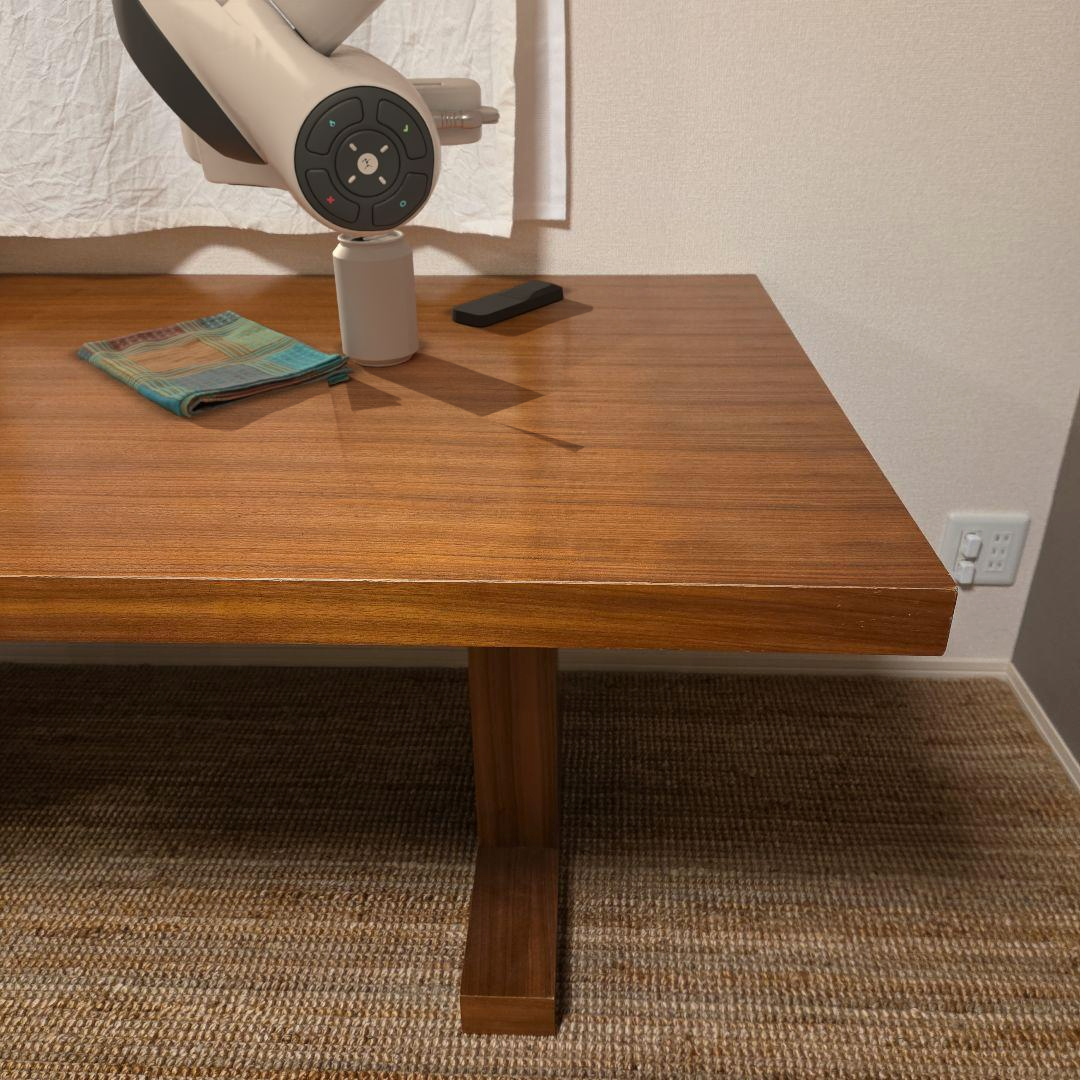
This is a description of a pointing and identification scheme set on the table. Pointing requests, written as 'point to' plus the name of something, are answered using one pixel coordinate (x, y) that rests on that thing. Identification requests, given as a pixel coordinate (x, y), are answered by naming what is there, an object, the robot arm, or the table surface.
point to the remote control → (507, 303)
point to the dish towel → (212, 362)
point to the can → (376, 298)
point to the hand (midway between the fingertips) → (326, 101)
